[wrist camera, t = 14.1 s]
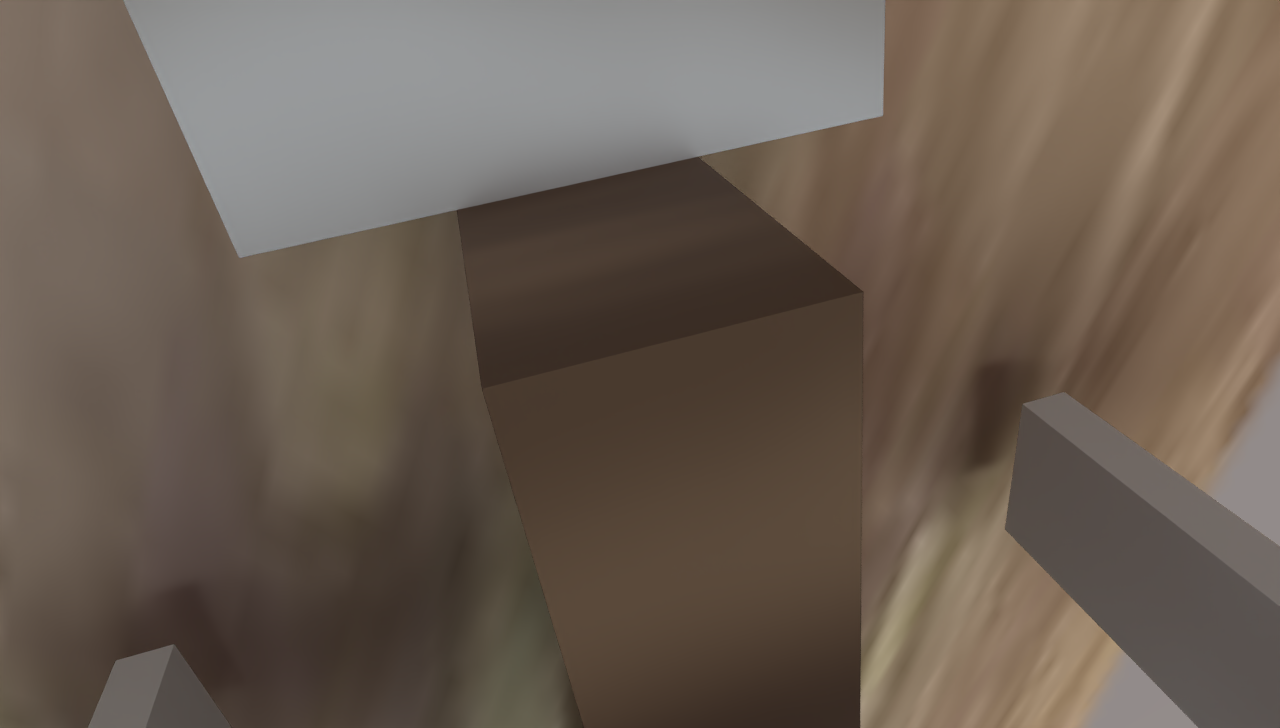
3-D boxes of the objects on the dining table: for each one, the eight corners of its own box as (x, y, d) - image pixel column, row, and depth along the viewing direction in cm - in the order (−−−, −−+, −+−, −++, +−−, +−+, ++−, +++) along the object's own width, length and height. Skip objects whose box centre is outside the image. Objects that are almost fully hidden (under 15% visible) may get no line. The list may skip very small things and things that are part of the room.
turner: (853, 665, 17) (1000, 914, 13) (490, 784, 16) (516, 1099, 11) (852, -688, 7) (1531, -1653, 3) (-122, -628, 6) (-1523, -2071, 2)
